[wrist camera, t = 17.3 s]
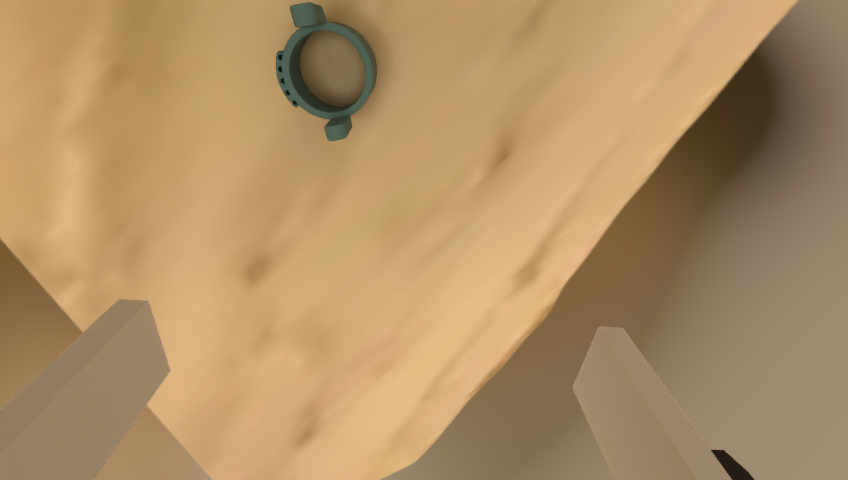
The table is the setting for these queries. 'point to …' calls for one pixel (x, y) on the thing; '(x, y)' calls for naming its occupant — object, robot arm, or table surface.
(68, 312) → the table surface
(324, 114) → the bracket
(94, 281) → the table surface
